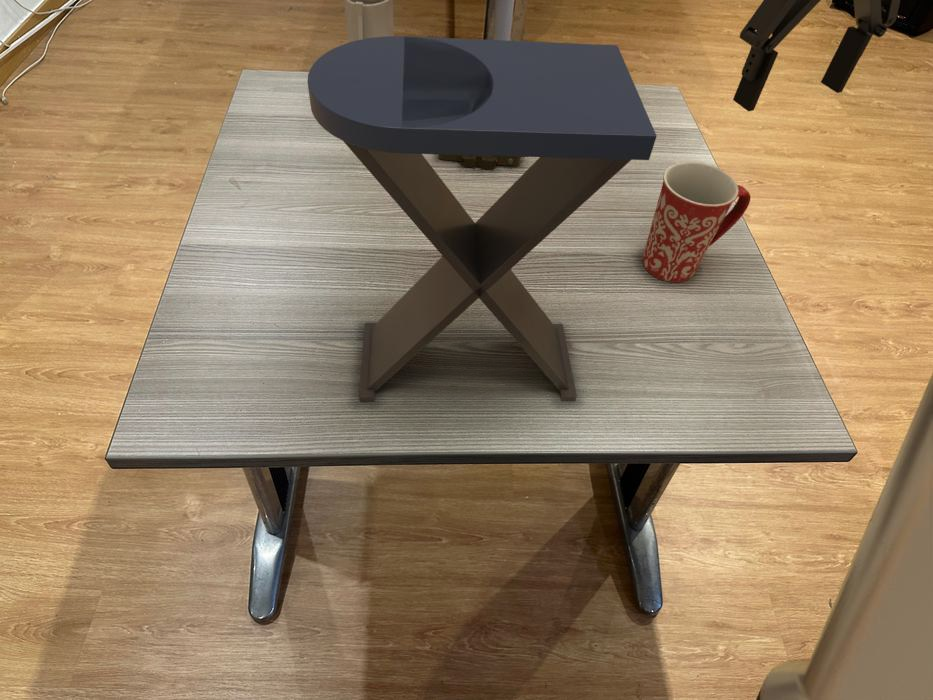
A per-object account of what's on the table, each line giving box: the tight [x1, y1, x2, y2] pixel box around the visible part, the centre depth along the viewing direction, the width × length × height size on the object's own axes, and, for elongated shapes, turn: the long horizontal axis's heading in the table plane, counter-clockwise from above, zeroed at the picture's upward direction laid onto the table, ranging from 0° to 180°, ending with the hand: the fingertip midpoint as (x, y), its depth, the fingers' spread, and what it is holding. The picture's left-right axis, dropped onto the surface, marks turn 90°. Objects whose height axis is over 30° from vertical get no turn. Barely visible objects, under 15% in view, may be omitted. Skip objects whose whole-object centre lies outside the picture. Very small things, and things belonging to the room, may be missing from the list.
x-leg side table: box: [307, 35, 658, 402], centre depth 62 cm, size 26×14×34 cm, turn 93°
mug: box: [642, 161, 751, 283], centre depth 84 cm, size 13×9×14 cm
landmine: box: [438, 154, 522, 170], centre depth 104 cm, size 14×3×15 cm
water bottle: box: [343, 0, 395, 43], centre depth 98 cm, size 9×8×25 cm
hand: (788, 96), depth 75 cm, fingers open, 13 cm apart
